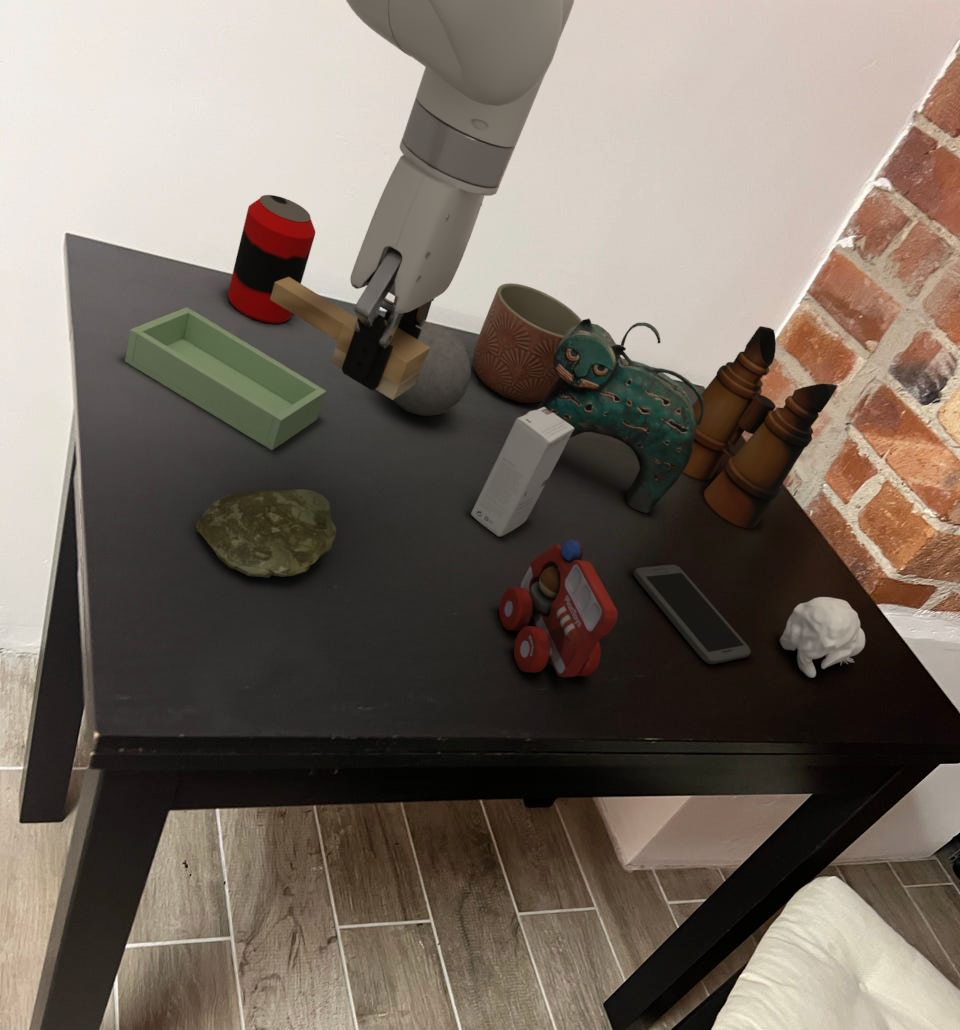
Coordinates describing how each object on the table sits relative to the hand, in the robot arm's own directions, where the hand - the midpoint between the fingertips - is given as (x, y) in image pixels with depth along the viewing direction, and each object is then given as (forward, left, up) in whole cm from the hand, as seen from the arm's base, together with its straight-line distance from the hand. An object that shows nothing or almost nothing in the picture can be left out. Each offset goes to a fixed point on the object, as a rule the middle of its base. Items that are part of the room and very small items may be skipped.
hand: (374, 369), depth 75 cm
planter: (+3, +45, -16) cm, 48 cm away
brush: (-3, 0, 0) cm, 3 cm away
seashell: (-1, -8, -16) cm, 18 cm away
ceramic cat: (+18, +33, -16) cm, 41 cm away
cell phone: (+36, +18, -15) cm, 44 cm away
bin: (-17, +9, -15) cm, 24 cm away
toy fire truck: (+24, 0, -16) cm, 28 cm away
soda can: (-25, +28, -16) cm, 41 cm away
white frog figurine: (+51, +24, -16) cm, 59 cm away
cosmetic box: (+13, +15, -16) cm, 26 cm away
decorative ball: (-3, +26, -16) cm, 31 cm away
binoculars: (+33, +51, -16) cm, 63 cm away
